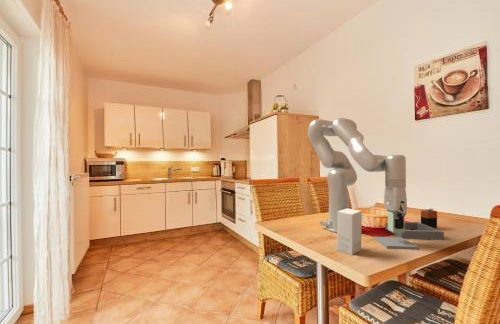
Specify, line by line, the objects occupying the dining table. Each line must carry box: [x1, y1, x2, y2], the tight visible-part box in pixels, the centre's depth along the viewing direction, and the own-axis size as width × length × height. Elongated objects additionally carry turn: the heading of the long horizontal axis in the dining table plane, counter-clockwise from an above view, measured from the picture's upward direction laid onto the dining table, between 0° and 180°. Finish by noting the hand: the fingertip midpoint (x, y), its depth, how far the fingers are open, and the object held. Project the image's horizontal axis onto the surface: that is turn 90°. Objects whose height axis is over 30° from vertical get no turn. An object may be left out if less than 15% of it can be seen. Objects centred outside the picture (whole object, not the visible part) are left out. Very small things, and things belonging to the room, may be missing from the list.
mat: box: [373, 236, 420, 250], centre depth 100 cm, size 12×12×1 cm
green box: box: [387, 211, 406, 233], centre depth 99 cm, size 4×4×8 cm
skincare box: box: [336, 208, 363, 256], centre depth 92 cm, size 8×7×16 cm
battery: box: [420, 208, 438, 229], centre depth 126 cm, size 4×7×10 cm, turn 108°
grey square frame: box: [384, 221, 445, 241], centre depth 115 cm, size 18×18×4 cm
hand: (395, 226), depth 99 cm, fingers closed on green box, 4 cm apart
